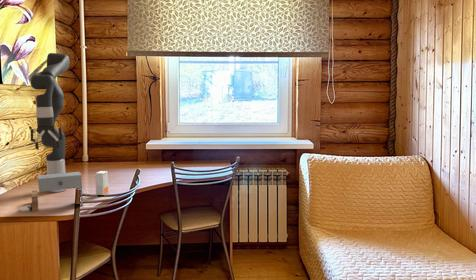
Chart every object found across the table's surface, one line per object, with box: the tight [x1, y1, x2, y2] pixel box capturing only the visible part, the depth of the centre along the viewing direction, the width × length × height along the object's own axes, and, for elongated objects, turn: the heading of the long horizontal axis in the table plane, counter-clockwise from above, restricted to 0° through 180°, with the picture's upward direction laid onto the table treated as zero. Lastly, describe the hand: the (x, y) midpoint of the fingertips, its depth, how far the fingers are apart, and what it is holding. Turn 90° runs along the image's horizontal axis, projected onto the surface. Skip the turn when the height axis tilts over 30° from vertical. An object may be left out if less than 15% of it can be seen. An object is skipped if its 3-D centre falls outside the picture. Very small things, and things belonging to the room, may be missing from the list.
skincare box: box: [94, 170, 109, 196], centre depth 224 cm, size 6×4×12 cm
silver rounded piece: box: [19, 204, 32, 213], centre depth 196 cm, size 5×5×2 cm
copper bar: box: [31, 189, 39, 213], centre depth 203 cm, size 18×2×6 cm, turn 25°
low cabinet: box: [37, 171, 84, 207], centre depth 201 cm, size 10×18×15 cm, turn 115°
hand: (47, 149), depth 210 cm, fingers open, 8 cm apart
